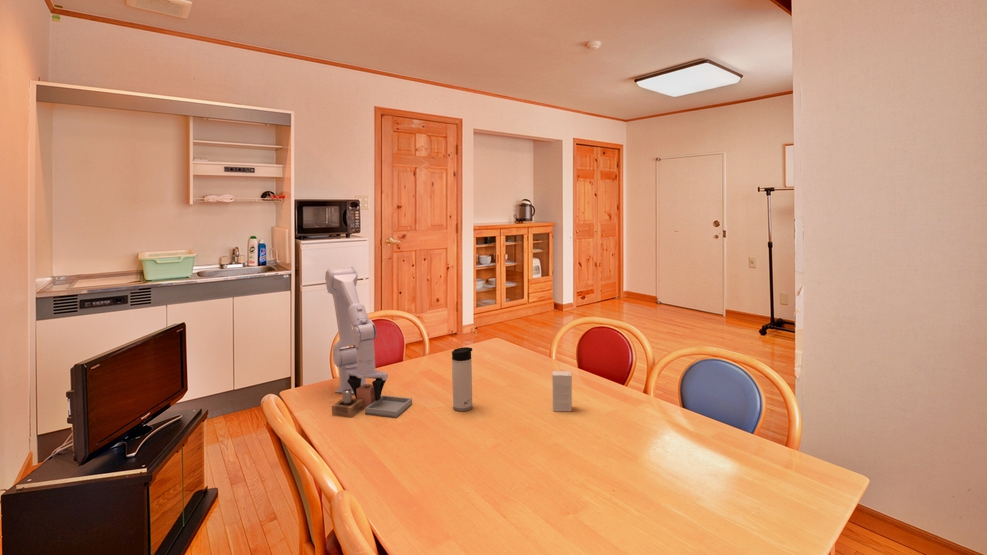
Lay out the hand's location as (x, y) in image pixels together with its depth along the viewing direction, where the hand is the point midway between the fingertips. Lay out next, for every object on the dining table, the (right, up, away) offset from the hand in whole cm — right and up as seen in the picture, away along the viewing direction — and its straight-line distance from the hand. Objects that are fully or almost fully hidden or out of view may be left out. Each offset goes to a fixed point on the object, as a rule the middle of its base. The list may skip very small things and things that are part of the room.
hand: (368, 398), depth 159 cm
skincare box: (+64, -2, -6) cm, 64 cm away
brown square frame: (-5, -3, -6) cm, 8 cm away
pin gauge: (-5, -3, -6) cm, 8 cm away
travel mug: (+32, -2, -4) cm, 32 cm away
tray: (+8, -2, -4) cm, 9 cm away
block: (0, -2, 0) cm, 2 cm away
